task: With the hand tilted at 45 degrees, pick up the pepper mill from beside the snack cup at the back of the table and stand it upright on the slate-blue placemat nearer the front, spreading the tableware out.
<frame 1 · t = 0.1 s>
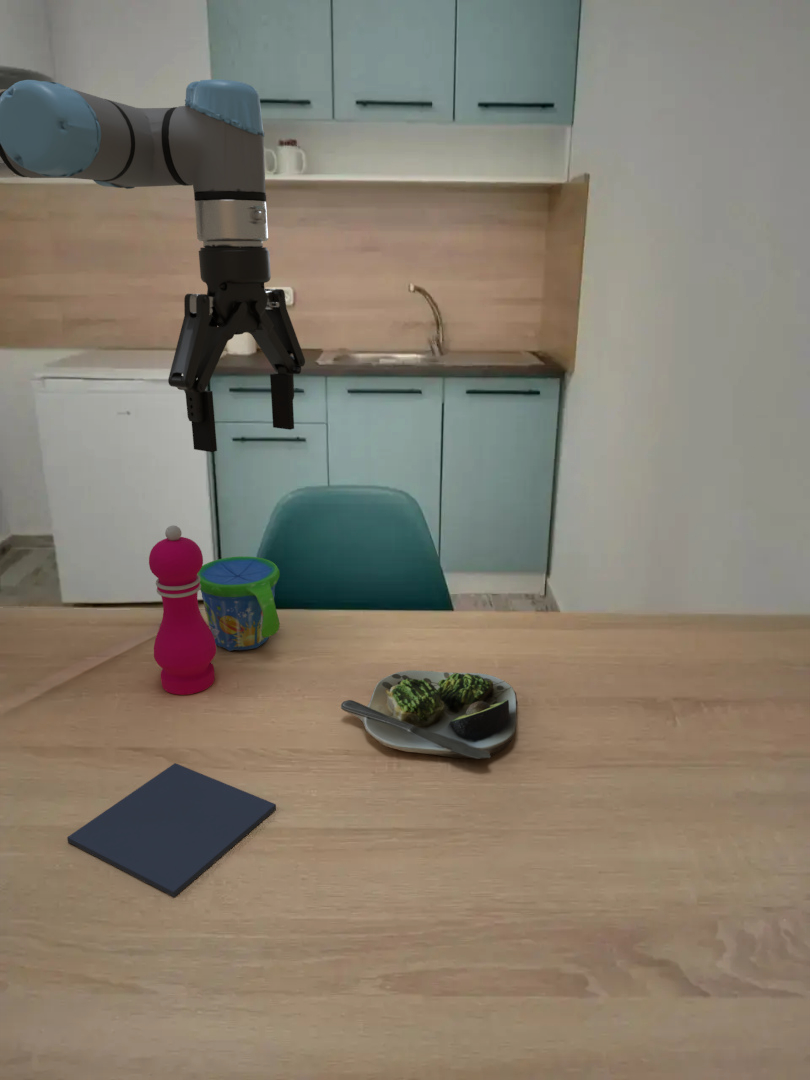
hand: (246, 438, 96), 29 cm above the table, tool pointing down, fingers open, 13 cm apart
snack cup: (242, 641, 111), on the table
salad plate: (445, 723, 92), on the table
placemat: (175, 825, 75), on the table
pepper mill: (188, 683, 100), on the table
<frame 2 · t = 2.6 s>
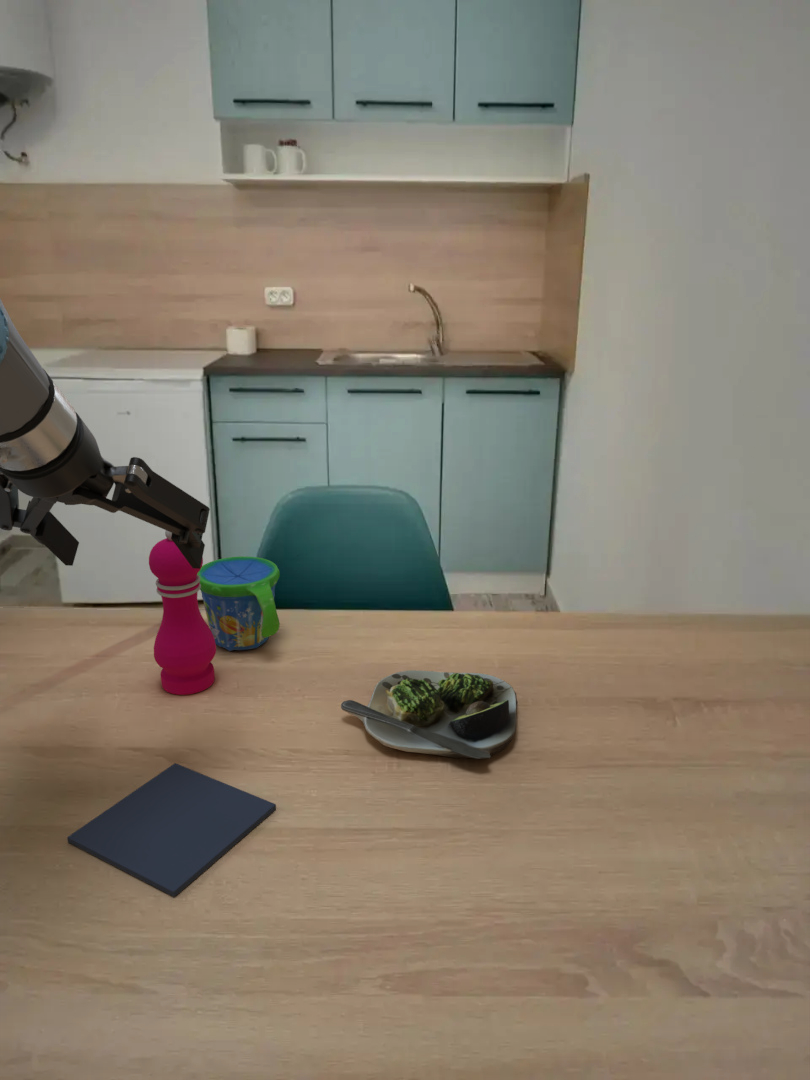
hand: (135, 555, 85), 20 cm above the table, tool tilted 45°, fingers open, 13 cm apart
nothing on the table moved.
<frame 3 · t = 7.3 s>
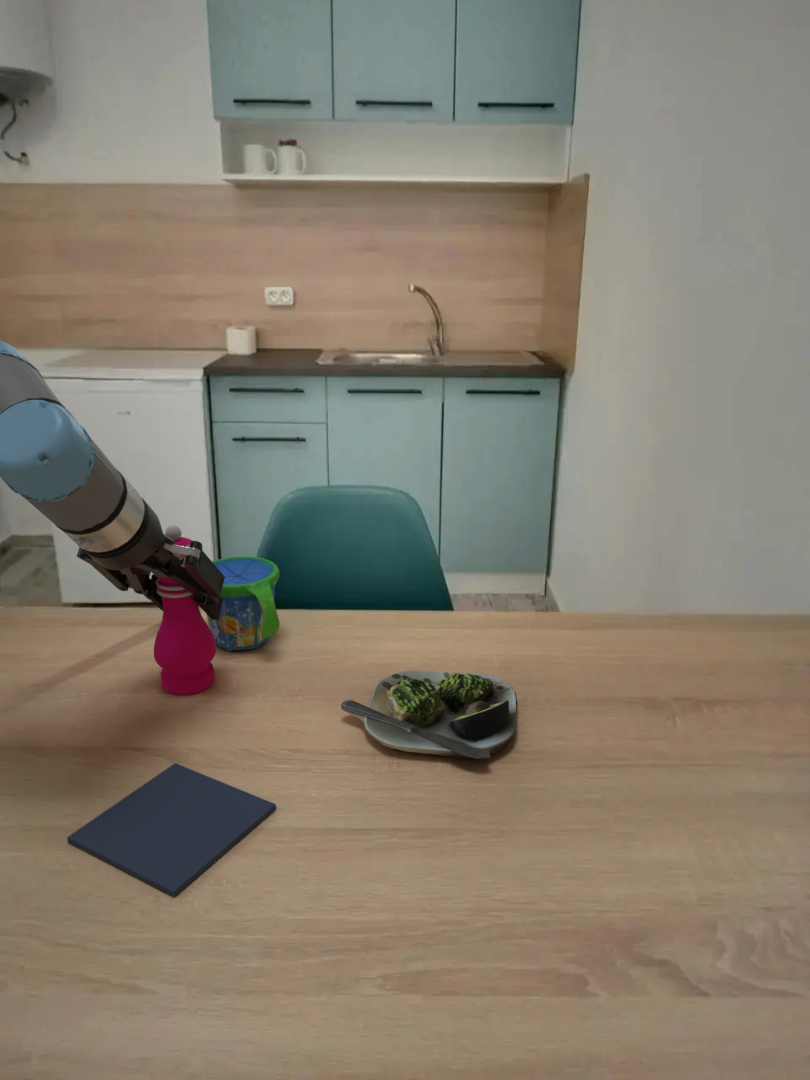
hand: (195, 607, 101), 8 cm above the table, tool tilted 45°, fingers closed on pepper mill, 5 cm apart
pepper mill: (188, 683, 100), on the table, touching gripper
everything else where it was.
when the fingers open (9 cm above the table, at t = 16.6 s): pepper mill stays where it is, resting on placemat.
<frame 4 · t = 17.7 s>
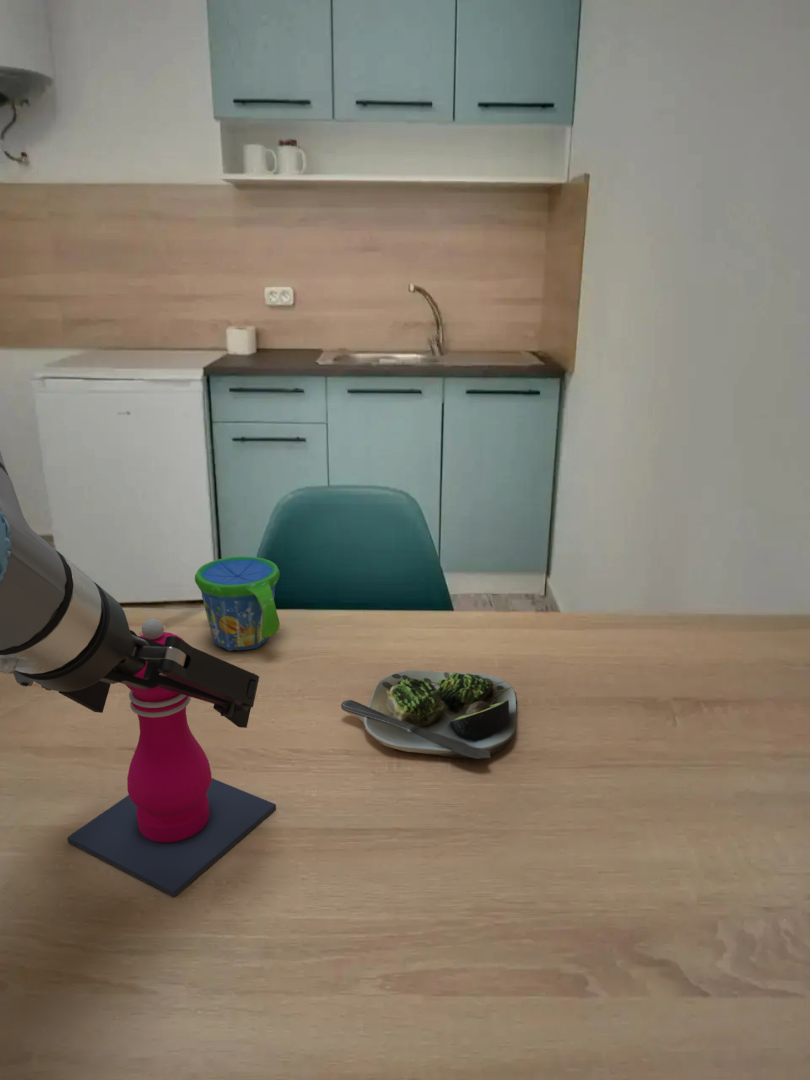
hand: (173, 705, 74), 11 cm above the table, tool tilted 45°, fingers open, 13 cm apart
pepper mill: (174, 822, 75), resting on placemat
everything else where it was.
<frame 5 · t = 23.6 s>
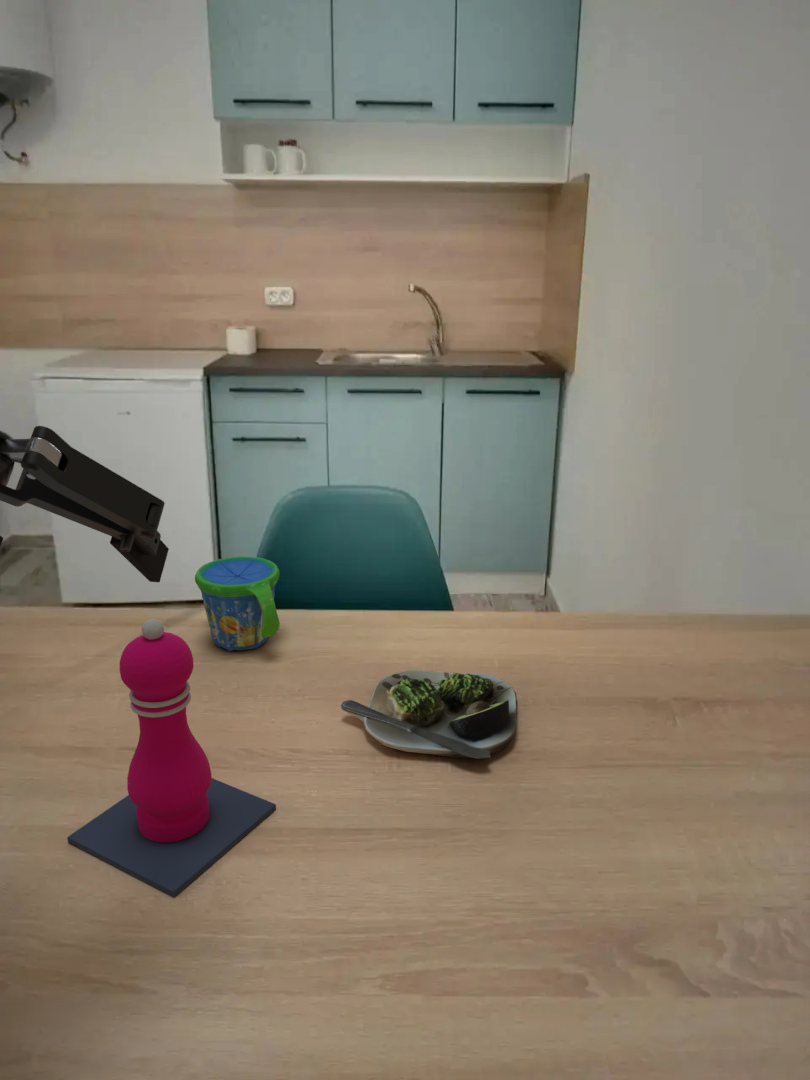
hand: (75, 559, 62), 28 cm above the table, tool tilted 45°, fingers open, 13 cm apart
nothing on the table moved.
at the end: pepper mill inside the target area on the placemat (0.1 cm from its centre), point 0.4 cm above the placemat's base; pepper mill tilted 0°; the gripper is holding nothing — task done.
